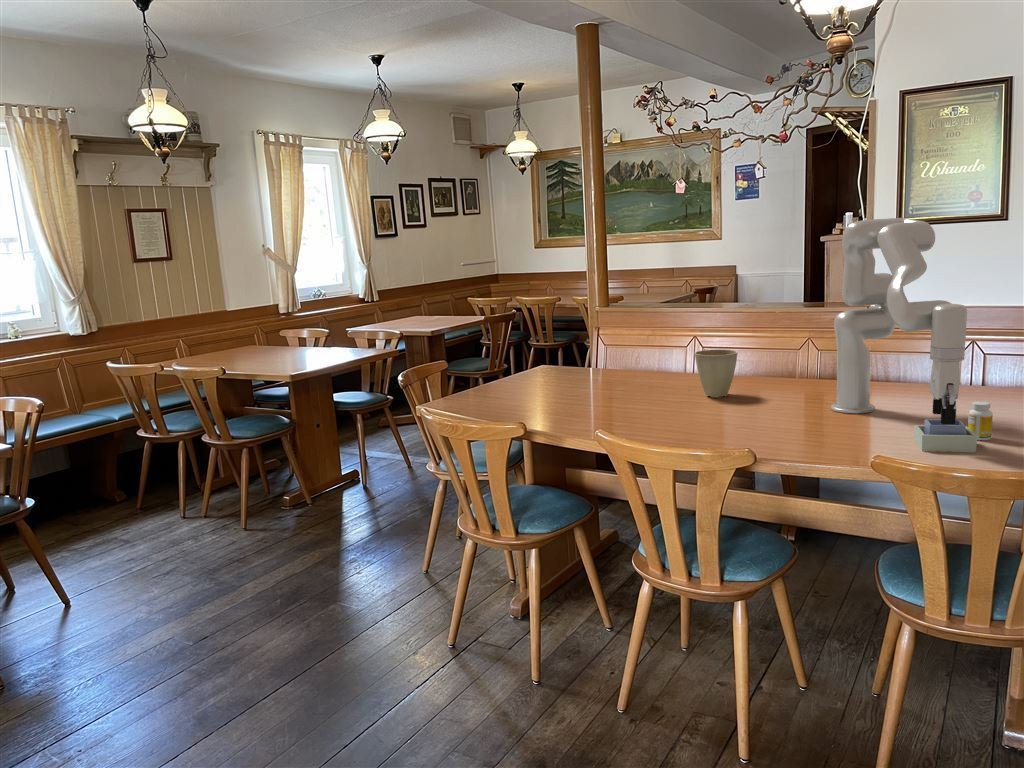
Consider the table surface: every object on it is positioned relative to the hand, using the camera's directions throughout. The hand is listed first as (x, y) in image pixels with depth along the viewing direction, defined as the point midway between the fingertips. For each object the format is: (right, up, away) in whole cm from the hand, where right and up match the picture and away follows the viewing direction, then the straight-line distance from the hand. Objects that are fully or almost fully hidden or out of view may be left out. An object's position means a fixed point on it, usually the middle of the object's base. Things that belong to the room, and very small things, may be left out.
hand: (943, 418), depth 190 cm
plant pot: (-37, +5, +78) cm, 86 cm away
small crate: (0, -7, +1) cm, 7 cm away
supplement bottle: (+13, -6, +5) cm, 15 cm away
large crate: (+1, -7, +1) cm, 8 cm away
